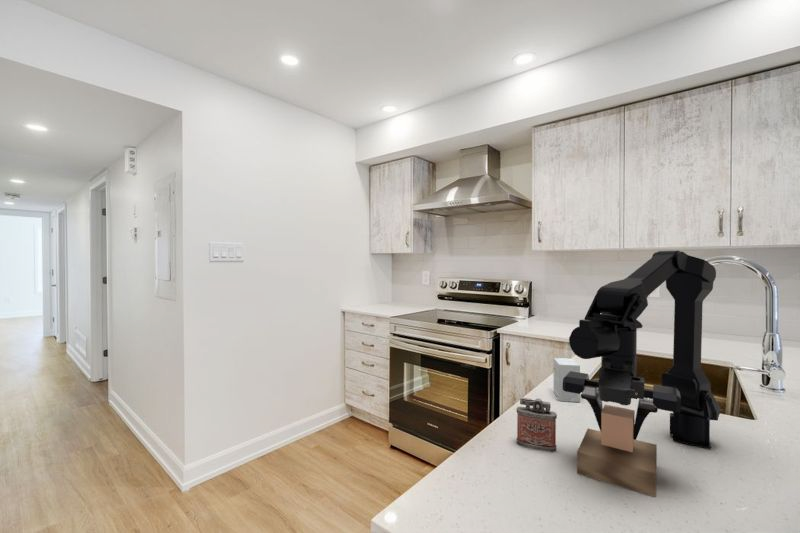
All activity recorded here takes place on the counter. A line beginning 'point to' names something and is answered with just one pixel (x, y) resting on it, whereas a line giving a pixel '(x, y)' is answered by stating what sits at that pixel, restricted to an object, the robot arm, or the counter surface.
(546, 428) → the lighter
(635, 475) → the plate
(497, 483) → the counter surface
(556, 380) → the small box
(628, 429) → the terracotta block
